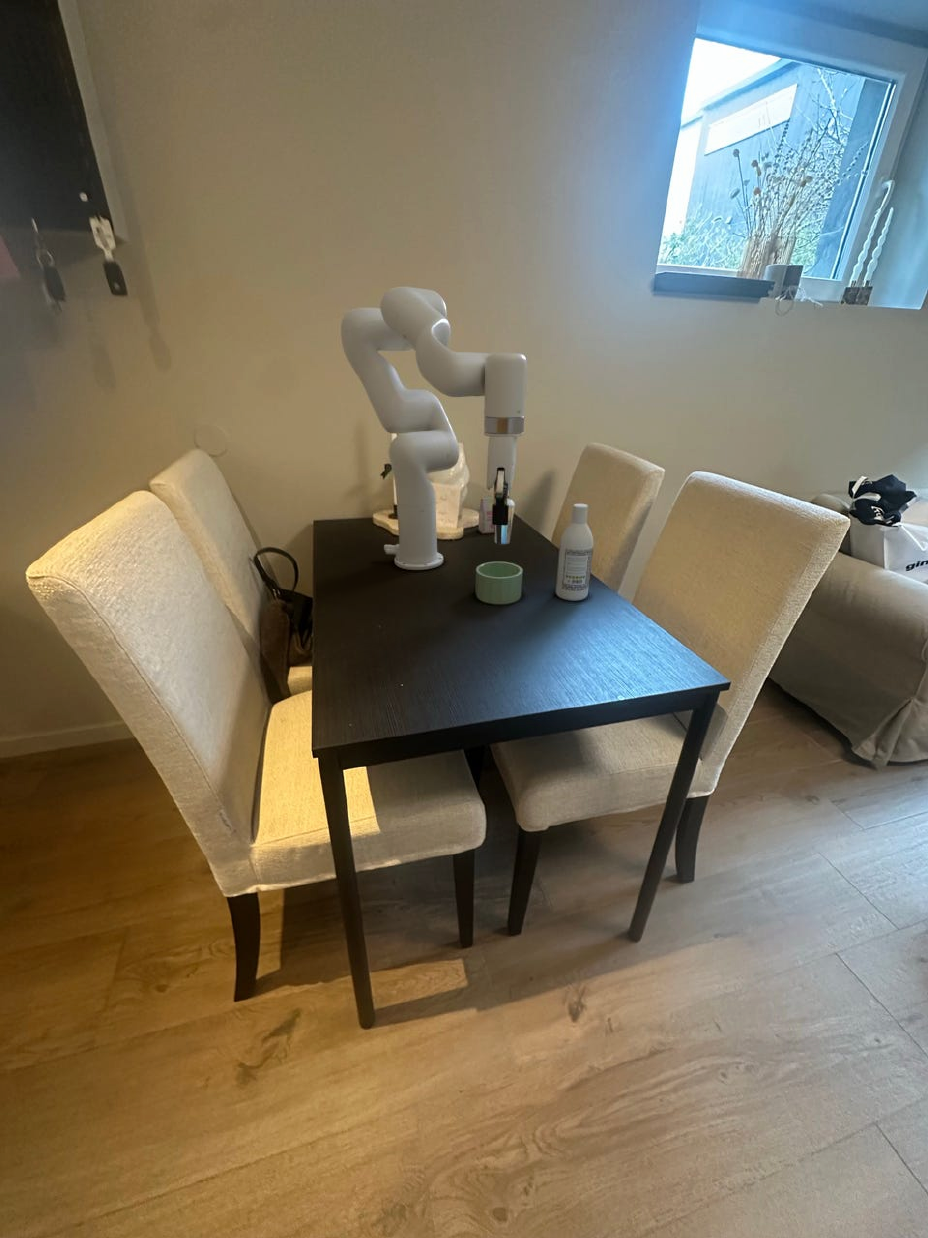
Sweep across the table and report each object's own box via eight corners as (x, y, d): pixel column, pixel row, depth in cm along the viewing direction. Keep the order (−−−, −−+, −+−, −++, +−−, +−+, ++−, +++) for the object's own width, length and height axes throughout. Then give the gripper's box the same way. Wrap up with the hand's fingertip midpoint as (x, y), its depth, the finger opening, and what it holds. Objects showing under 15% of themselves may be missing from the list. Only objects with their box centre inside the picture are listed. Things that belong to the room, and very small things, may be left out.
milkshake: (486, 539, 106) (487, 492, 102) (511, 538, 107) (513, 491, 102) (489, 546, 102) (490, 497, 98) (514, 545, 103) (517, 497, 98)
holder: (473, 603, 106) (473, 576, 104) (478, 584, 115) (478, 560, 112) (520, 605, 105) (521, 579, 102) (521, 587, 114) (523, 562, 111)
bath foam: (593, 598, 108) (605, 507, 99) (565, 603, 106) (574, 510, 97) (576, 587, 114) (586, 499, 105) (549, 591, 112) (557, 502, 103)
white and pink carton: (478, 530, 154) (479, 497, 149) (498, 528, 156) (499, 496, 151) (482, 533, 151) (483, 500, 146) (503, 531, 153) (504, 498, 148)
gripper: (488, 422, 102) (486, 510, 110) (479, 431, 87) (478, 532, 95) (525, 422, 101) (520, 511, 109) (522, 432, 86) (517, 534, 94)
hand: (501, 520), depth 102 cm, fingers closed on milkshake, 4 cm apart
